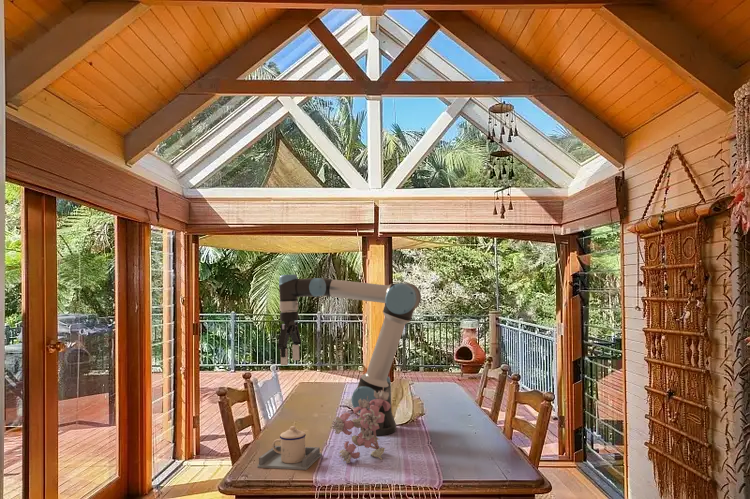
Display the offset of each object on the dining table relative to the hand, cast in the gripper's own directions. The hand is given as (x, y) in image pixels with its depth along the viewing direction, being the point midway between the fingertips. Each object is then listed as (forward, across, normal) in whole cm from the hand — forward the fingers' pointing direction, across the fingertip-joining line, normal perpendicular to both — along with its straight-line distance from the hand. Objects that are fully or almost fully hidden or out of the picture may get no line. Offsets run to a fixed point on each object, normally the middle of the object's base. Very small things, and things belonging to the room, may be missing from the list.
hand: (290, 362), depth 235 cm
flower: (+31, -26, -36) cm, 54 cm away
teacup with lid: (+30, -31, -11) cm, 45 cm away
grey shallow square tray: (+30, -30, -11) cm, 44 cm away
